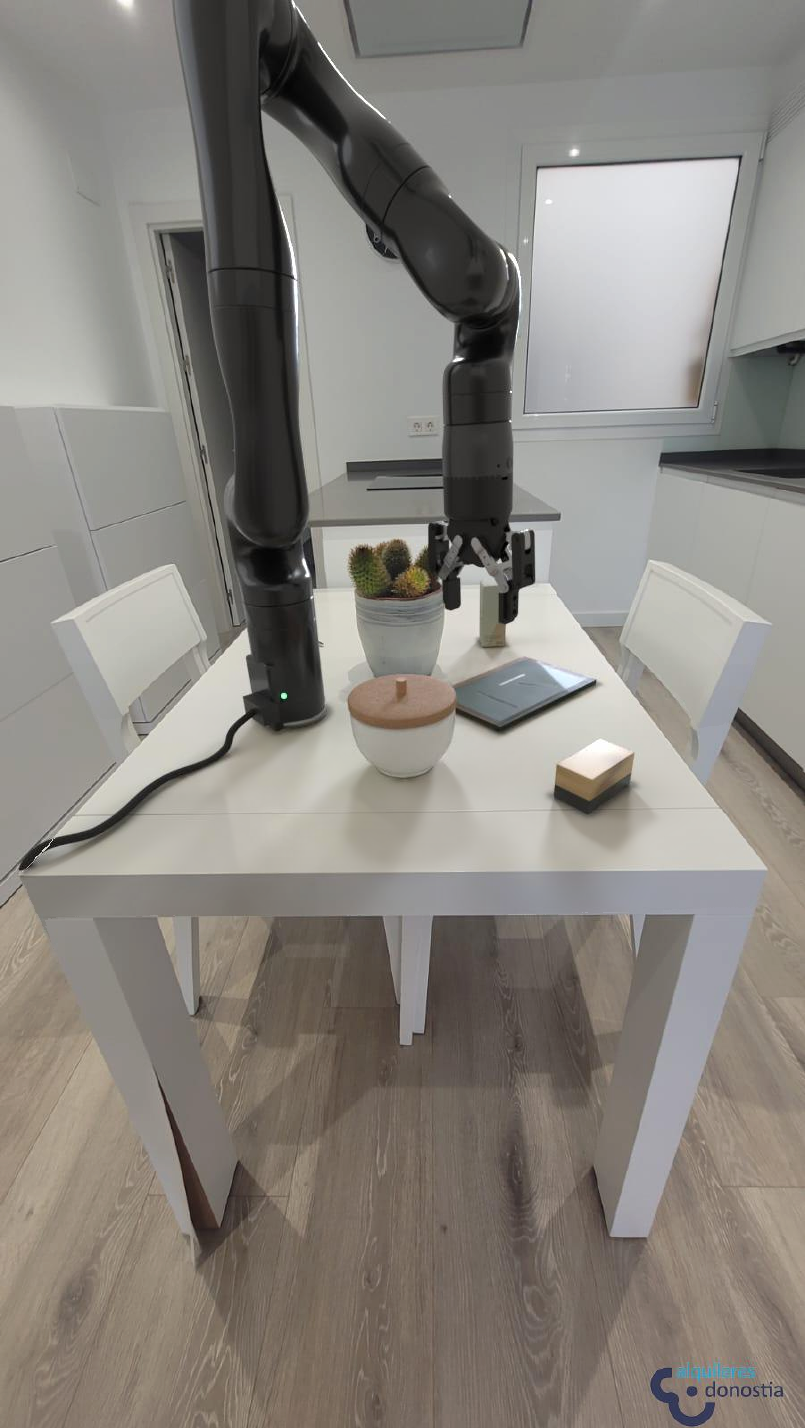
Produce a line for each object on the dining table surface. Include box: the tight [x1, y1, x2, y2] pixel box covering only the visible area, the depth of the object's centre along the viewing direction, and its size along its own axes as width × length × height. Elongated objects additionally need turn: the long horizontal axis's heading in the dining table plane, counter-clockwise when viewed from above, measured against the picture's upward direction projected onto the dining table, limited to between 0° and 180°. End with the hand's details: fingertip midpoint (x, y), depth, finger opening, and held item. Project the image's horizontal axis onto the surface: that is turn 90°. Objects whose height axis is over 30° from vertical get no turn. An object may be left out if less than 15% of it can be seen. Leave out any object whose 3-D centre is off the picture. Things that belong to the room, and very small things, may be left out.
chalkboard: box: [451, 655, 598, 733], centre depth 89 cm, size 22×14×1 cm, turn 130°
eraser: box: [553, 738, 635, 814], centre depth 65 cm, size 8×4×4 cm, turn 130°
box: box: [478, 579, 507, 647], centre depth 107 cm, size 5×4×11 cm
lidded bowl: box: [346, 673, 457, 779], centre depth 70 cm, size 13×13×11 cm
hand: (479, 615), depth 71 cm, fingers open, 8 cm apart
